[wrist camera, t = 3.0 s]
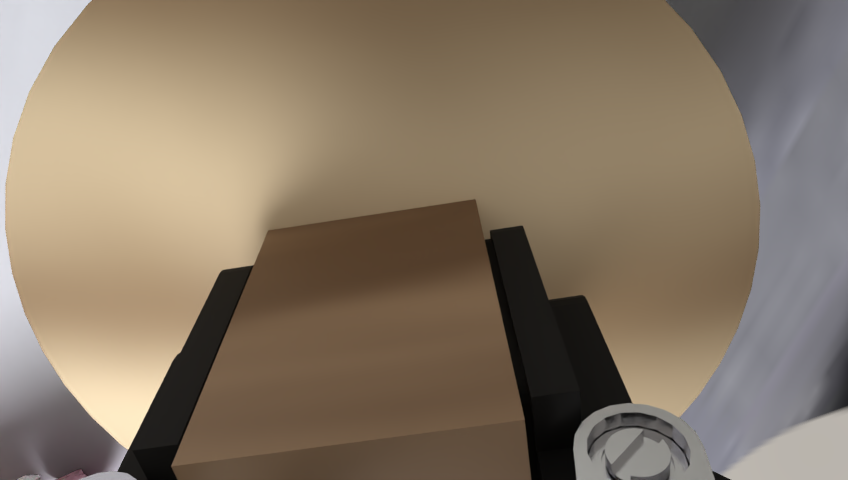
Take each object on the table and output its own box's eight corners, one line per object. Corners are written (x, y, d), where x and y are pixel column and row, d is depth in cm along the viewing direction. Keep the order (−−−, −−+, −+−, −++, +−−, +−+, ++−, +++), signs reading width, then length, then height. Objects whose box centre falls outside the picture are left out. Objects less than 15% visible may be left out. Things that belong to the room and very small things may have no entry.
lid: (-115, -32, 10) (-756, 64, 4) (768, -189, 9) (1300, -311, 4) (178, 531, 16) (64, 853, 10) (711, 464, 15) (876, 772, 10)
